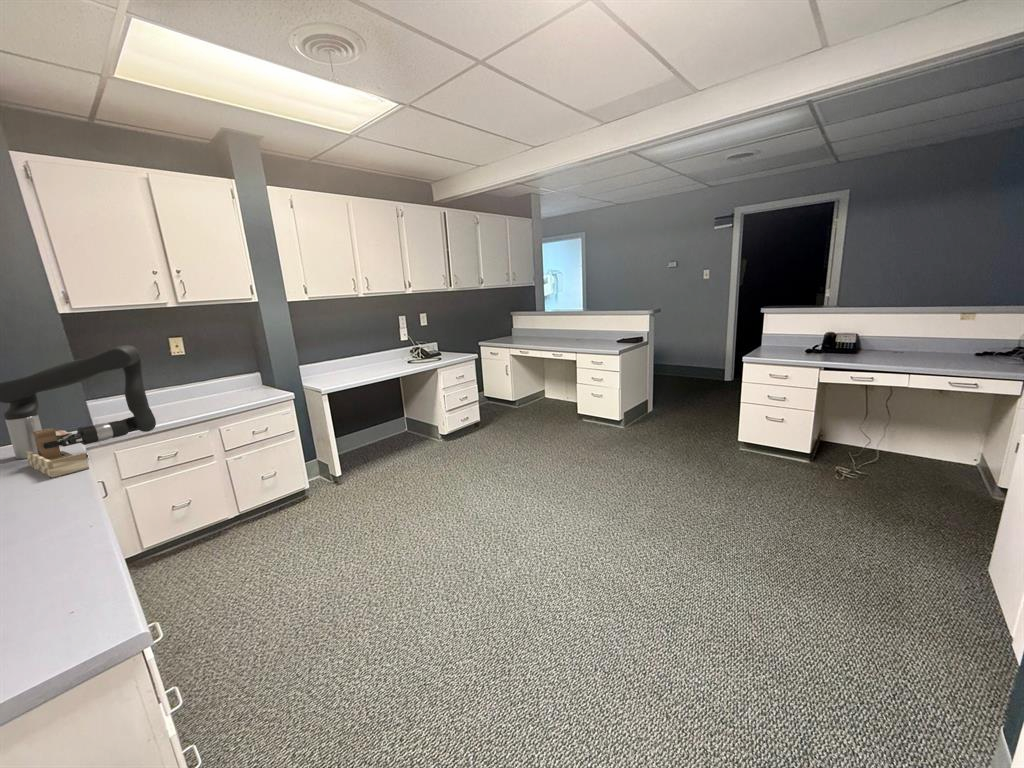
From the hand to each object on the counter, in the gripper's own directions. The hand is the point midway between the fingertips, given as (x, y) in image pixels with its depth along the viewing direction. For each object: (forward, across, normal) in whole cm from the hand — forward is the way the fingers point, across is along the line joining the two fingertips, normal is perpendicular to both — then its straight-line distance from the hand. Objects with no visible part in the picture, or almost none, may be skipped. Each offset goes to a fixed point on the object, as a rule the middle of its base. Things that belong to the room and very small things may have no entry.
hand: (40, 445), depth 164 cm
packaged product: (-15, -45, +10) cm, 48 cm away
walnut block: (-2, 0, +9) cm, 9 cm away
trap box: (-2, +8, +9) cm, 12 cm away
